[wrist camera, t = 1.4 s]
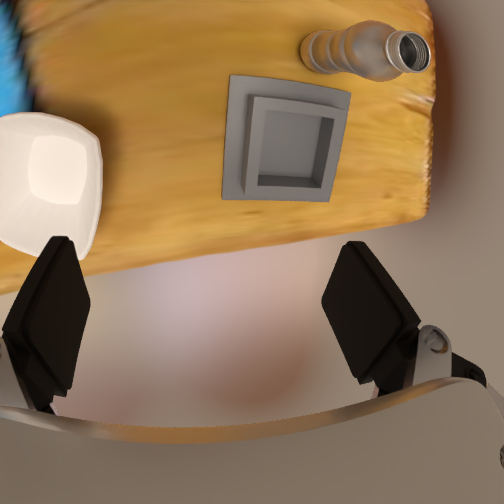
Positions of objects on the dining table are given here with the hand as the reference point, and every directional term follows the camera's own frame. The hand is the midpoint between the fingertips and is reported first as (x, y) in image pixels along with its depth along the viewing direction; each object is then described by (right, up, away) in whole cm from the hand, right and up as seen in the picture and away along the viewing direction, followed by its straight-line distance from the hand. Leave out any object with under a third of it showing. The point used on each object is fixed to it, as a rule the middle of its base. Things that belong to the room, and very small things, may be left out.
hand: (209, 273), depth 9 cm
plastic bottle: (+10, +28, +20) cm, 36 cm away
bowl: (-28, +13, +23) cm, 38 cm away
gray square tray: (+6, +16, +28) cm, 33 cm away
